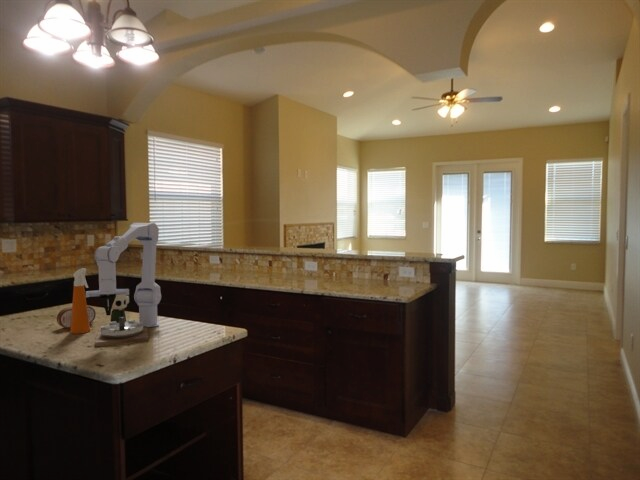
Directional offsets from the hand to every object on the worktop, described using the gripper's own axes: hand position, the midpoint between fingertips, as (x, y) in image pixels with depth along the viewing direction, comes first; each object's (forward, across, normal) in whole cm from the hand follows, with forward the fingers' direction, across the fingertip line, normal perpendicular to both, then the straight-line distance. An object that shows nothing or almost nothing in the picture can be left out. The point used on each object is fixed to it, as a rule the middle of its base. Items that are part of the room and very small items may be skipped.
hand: (108, 314), depth 169 cm
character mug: (+11, +2, +30) cm, 32 cm away
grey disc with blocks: (+9, +5, +5) cm, 11 cm away
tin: (+11, -14, +31) cm, 35 cm away
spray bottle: (+11, -10, +19) cm, 24 cm away
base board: (+10, +4, +5) cm, 12 cm away
